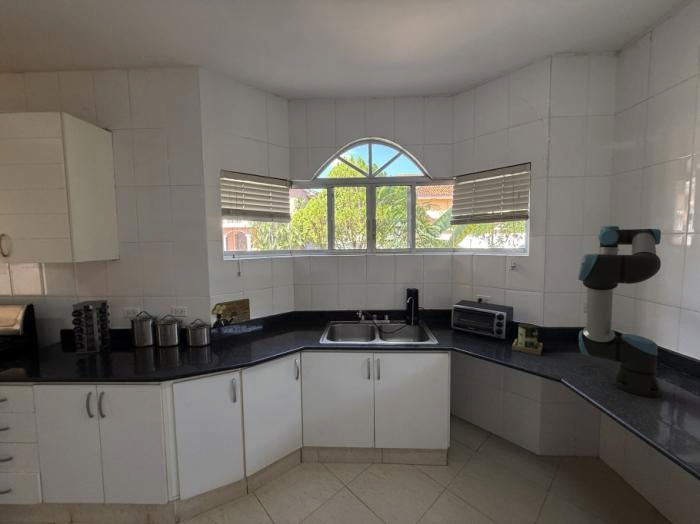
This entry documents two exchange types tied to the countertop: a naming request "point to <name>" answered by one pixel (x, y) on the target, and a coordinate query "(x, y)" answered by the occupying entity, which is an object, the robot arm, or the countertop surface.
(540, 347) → the oak bay tray
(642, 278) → the robot arm
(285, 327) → the countertop surface
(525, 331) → the coffee can
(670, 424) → the countertop surface
